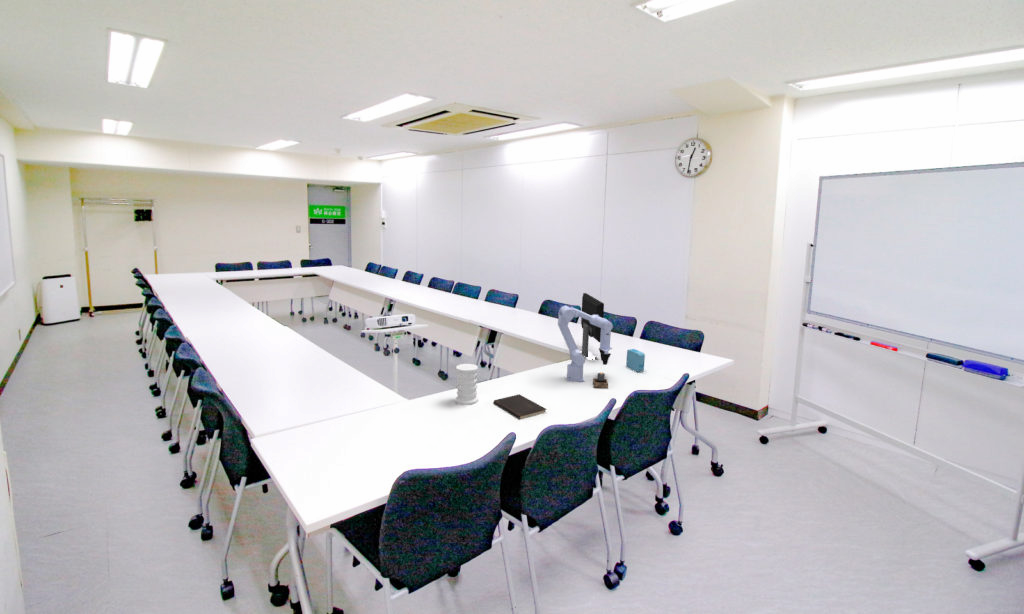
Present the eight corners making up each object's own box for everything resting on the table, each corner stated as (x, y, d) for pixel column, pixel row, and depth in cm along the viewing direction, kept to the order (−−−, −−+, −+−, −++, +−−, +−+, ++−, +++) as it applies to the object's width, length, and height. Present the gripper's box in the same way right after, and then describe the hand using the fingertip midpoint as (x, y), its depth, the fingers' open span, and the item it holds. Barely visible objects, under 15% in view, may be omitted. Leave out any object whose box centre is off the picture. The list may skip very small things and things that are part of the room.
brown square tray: (594, 387, 273) (594, 382, 272) (592, 383, 280) (592, 378, 279) (607, 388, 272) (608, 383, 272) (606, 383, 280) (606, 378, 279)
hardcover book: (519, 398, 257) (519, 394, 256) (546, 413, 238) (546, 408, 238) (493, 404, 248) (493, 400, 247) (519, 420, 229) (519, 416, 229)
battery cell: (597, 386, 274) (598, 374, 273) (596, 383, 278) (596, 371, 277) (604, 386, 274) (605, 374, 273) (602, 383, 278) (603, 371, 277)
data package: (643, 372, 302) (645, 353, 300) (637, 372, 300) (639, 354, 298) (631, 366, 313) (632, 348, 310) (625, 367, 311) (627, 349, 309)
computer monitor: (604, 364, 315) (607, 303, 308) (591, 364, 314) (594, 303, 307) (586, 347, 355) (588, 292, 348) (574, 347, 354) (577, 293, 347)
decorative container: (478, 396, 257) (479, 363, 253) (477, 405, 245) (477, 370, 242) (456, 396, 257) (456, 363, 253) (454, 404, 245) (454, 370, 242)
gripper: (614, 343, 278) (612, 366, 281) (610, 337, 292) (609, 359, 295) (601, 343, 278) (600, 366, 281) (598, 336, 293) (597, 358, 295)
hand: (604, 362), depth 288 cm, fingers open, 7 cm apart
